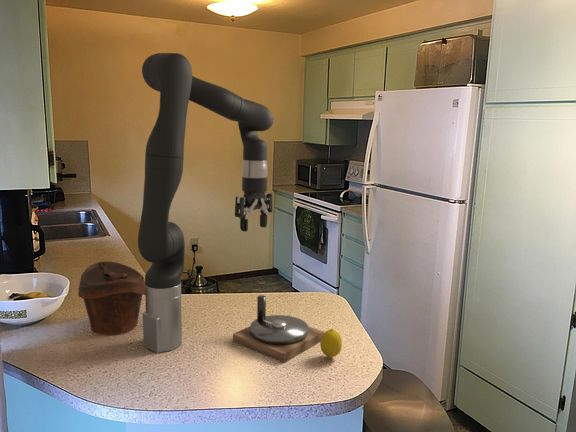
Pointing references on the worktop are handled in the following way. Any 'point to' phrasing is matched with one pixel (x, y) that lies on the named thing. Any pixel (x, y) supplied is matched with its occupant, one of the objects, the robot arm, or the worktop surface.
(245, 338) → the wheel stand
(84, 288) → the chocolate muffin
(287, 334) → the handwheel
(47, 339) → the worktop surface
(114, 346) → the worktop surface
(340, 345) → the lemon
